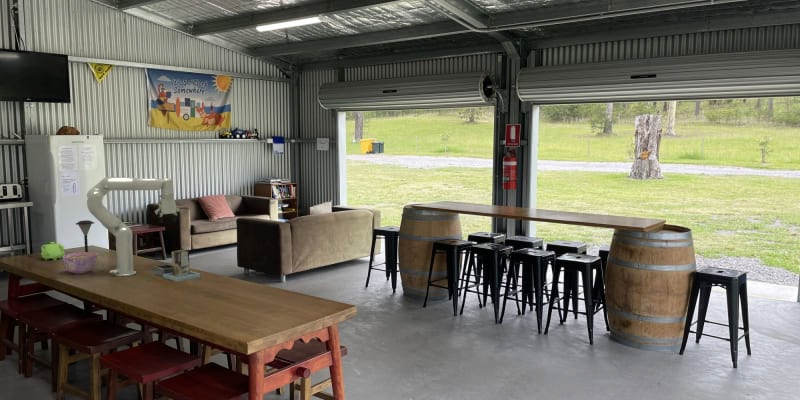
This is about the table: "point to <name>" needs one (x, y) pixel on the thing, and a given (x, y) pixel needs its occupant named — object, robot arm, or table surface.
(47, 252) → the green lumpy rounded block
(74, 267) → the bowl of food
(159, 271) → the metal sleeve
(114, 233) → the robot arm
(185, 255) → the coffee box
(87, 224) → the solar garden light
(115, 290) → the table surface
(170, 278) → the pale blue square tray
